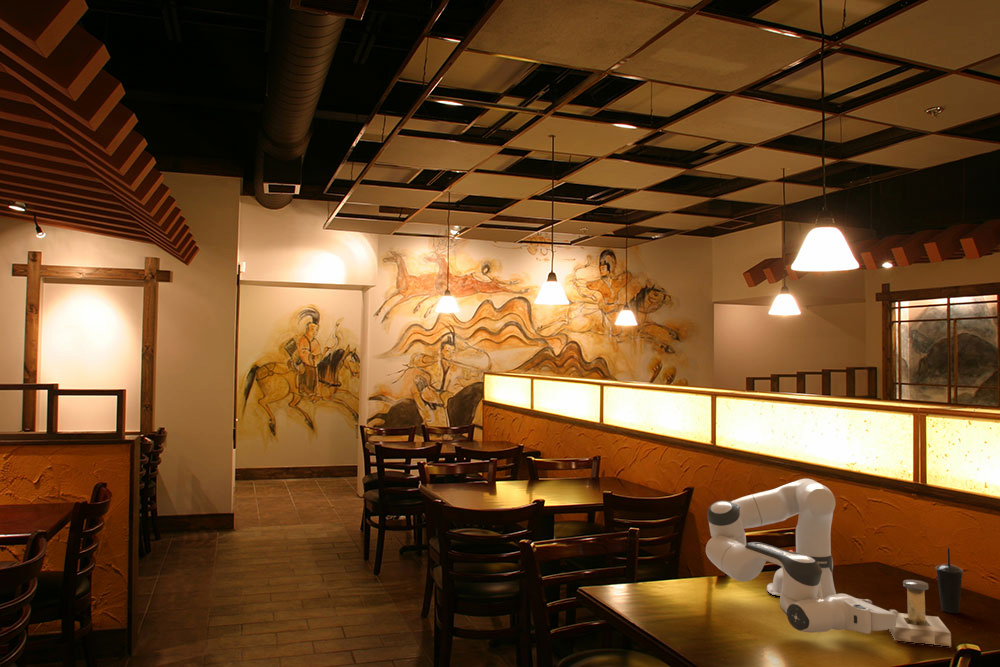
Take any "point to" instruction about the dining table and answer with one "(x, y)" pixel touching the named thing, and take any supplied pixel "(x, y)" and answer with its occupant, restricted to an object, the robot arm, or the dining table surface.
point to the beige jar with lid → (916, 601)
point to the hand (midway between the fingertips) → (883, 607)
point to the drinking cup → (949, 586)
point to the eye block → (921, 631)
